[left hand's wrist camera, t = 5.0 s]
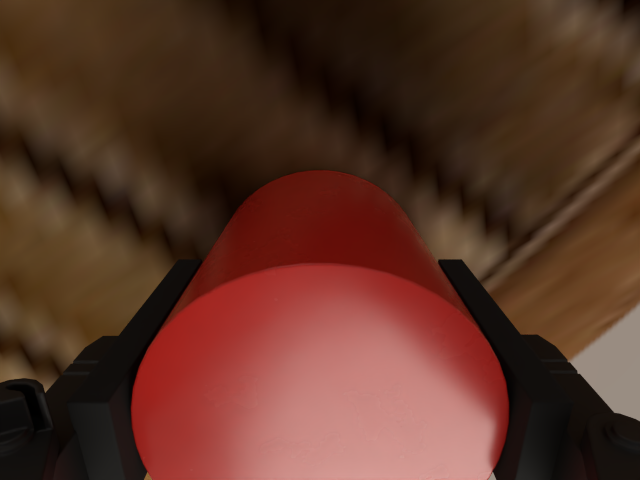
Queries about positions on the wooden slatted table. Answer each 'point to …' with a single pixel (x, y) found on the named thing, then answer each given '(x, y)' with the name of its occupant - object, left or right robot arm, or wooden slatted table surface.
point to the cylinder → (320, 351)
